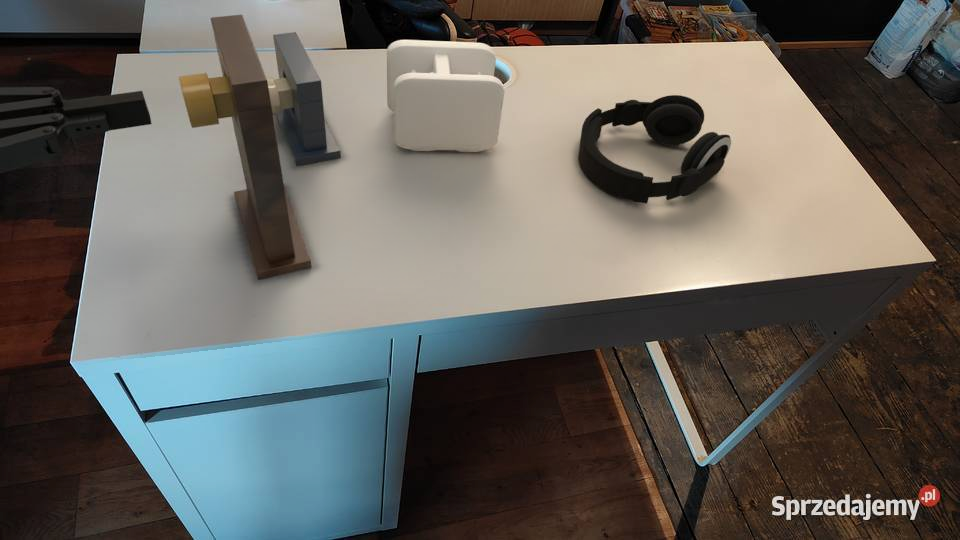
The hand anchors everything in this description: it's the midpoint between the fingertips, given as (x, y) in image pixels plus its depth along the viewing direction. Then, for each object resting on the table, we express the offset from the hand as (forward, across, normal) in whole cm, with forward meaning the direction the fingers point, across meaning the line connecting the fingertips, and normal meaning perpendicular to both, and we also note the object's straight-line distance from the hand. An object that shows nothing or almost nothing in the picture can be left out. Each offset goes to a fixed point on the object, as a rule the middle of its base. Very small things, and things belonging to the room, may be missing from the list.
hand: (146, 107), depth 62 cm
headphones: (+61, +3, -19) cm, 64 cm away
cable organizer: (+35, -13, -19) cm, 42 cm away
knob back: (+15, -18, -15) cm, 28 cm away
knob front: (+7, 0, -2) cm, 7 cm away
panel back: (+17, -18, -19) cm, 31 cm away
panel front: (+9, 0, -19) cm, 21 cm away
